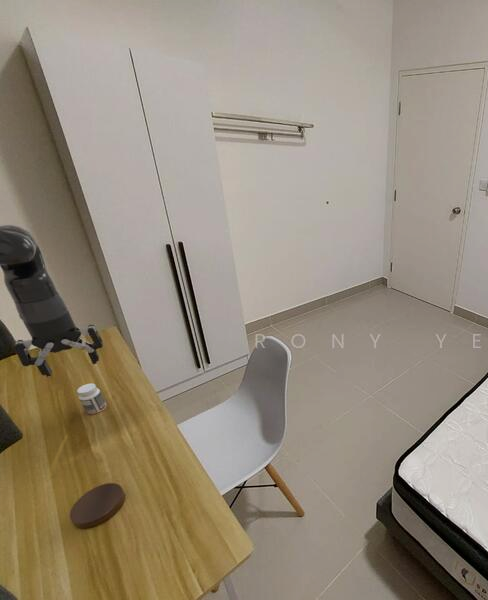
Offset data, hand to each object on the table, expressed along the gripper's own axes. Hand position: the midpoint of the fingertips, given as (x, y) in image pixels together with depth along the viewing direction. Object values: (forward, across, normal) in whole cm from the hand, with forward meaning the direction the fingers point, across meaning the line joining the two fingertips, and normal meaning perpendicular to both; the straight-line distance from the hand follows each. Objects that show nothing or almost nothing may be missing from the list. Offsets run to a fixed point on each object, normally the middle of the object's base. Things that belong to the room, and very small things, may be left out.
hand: (73, 368), depth 83 cm
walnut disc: (+22, 0, +27) cm, 35 cm away
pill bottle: (+22, +2, -10) cm, 24 cm away
